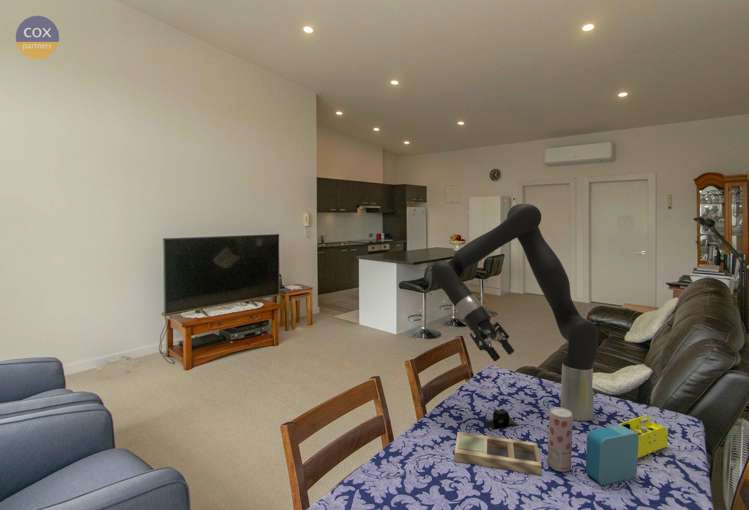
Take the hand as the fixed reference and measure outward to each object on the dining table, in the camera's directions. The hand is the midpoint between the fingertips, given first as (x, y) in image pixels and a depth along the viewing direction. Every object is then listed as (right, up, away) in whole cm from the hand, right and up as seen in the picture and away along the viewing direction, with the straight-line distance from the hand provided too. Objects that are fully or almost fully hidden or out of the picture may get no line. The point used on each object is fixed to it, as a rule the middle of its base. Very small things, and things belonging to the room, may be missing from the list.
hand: (505, 356), depth 118 cm
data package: (+21, -26, -17) cm, 38 cm away
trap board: (-5, -25, -9) cm, 27 cm away
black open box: (+2, -25, +9) cm, 27 cm away
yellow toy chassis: (+36, -26, -6) cm, 45 cm away
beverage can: (+10, -26, -13) cm, 31 cm away
